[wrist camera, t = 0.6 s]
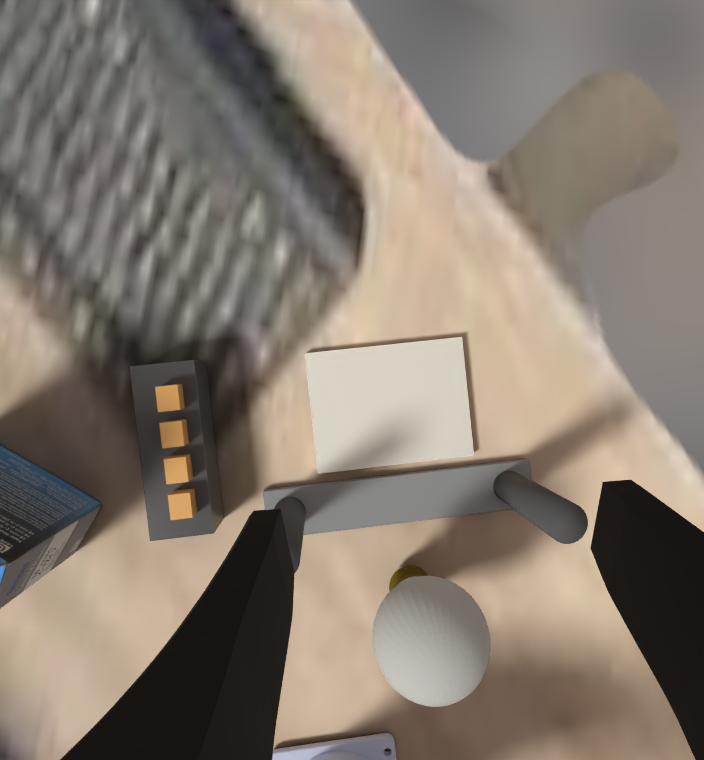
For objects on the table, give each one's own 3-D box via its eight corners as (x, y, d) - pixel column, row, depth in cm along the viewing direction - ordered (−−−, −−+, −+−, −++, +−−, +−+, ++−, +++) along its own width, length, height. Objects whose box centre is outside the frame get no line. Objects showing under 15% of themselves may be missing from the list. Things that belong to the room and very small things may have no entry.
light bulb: (422, 518, 33) (465, 582, 23) (469, 593, 33) (532, 689, 23) (344, 568, 33) (354, 655, 23) (393, 643, 33) (423, 762, 23)
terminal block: (223, 518, 32) (209, 539, 28) (166, 525, 32) (143, 547, 28) (206, 360, 32) (189, 359, 28) (147, 366, 32) (122, 366, 28)
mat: (471, 454, 33) (474, 455, 33) (317, 472, 33) (317, 473, 32) (459, 337, 33) (462, 336, 32) (305, 353, 32) (304, 353, 32)
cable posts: (530, 504, 33) (600, 549, 25) (269, 536, 32) (250, 595, 24) (525, 458, 33) (594, 488, 25) (264, 489, 32) (242, 532, 24)
